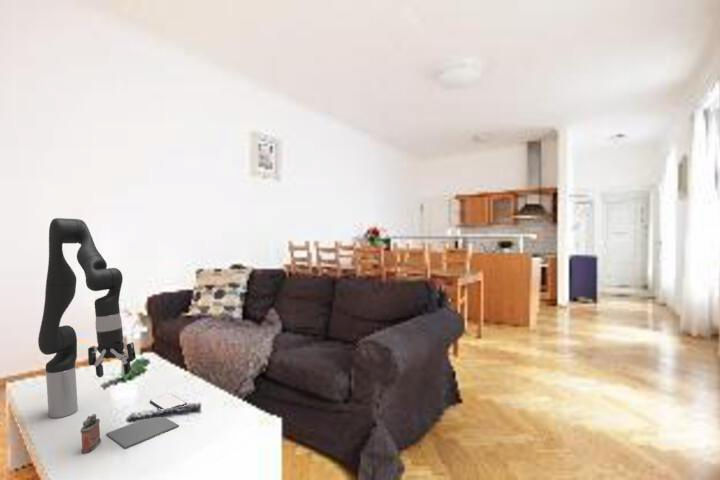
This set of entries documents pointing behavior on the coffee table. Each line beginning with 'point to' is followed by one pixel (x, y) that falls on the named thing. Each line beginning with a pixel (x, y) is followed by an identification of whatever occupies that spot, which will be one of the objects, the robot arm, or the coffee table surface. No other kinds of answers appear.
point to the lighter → (90, 434)
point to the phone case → (167, 401)
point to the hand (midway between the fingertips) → (113, 375)
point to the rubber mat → (141, 431)
